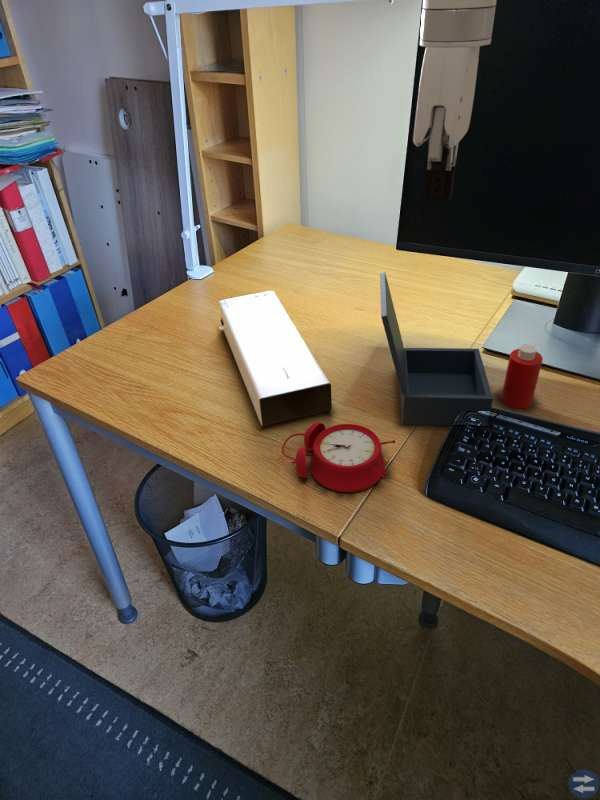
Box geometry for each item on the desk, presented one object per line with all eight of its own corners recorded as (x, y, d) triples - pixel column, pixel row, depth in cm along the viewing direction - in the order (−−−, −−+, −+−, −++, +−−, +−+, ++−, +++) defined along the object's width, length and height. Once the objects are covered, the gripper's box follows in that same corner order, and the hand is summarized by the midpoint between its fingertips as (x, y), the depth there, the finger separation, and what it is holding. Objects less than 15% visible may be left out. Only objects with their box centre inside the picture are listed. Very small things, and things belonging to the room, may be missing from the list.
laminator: (332, 415, 88) (331, 383, 84) (256, 433, 85) (252, 401, 82) (276, 317, 114) (273, 289, 110) (216, 328, 112) (212, 300, 108)
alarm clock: (386, 482, 71) (276, 443, 73) (374, 512, 75) (269, 474, 77) (400, 430, 78) (300, 396, 80) (388, 460, 83) (293, 427, 84)
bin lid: (385, 271, 85) (380, 273, 85) (387, 315, 74) (381, 316, 74) (403, 344, 92) (398, 345, 92) (407, 393, 82) (402, 395, 82)
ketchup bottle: (528, 391, 90) (540, 340, 84) (534, 409, 86) (548, 357, 81) (498, 391, 91) (509, 340, 85) (504, 408, 87) (515, 356, 81)
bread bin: (474, 375, 94) (478, 348, 91) (487, 426, 84) (493, 398, 81) (398, 373, 96) (400, 347, 93) (402, 424, 85) (404, 396, 82)
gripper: (437, 23, 67) (423, 181, 78) (403, 35, 56) (392, 217, 67) (502, 22, 64) (478, 186, 75) (480, 35, 53) (455, 224, 64)
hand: (437, 200), depth 71 cm, fingers closed
